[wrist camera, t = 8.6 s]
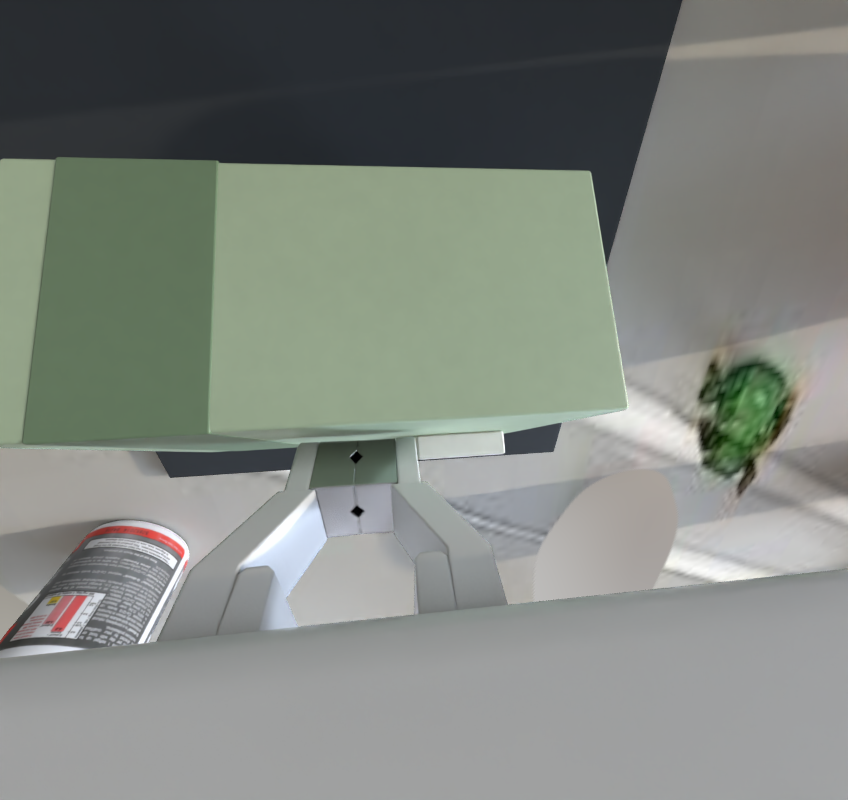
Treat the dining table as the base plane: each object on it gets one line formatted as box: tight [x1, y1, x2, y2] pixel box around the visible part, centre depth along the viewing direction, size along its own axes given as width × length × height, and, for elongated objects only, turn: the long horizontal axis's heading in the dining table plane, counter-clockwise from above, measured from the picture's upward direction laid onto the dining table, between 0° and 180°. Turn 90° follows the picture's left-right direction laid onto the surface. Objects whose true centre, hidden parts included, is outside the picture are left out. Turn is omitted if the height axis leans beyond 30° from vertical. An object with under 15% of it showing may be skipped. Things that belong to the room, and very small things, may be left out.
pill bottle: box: [0, 520, 189, 658], centre depth 18 cm, size 6×6×10 cm
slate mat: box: [0, 0, 682, 478], centre depth 14 cm, size 20×22×1 cm
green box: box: [0, 157, 629, 460], centre depth 10 cm, size 6×12×8 cm
